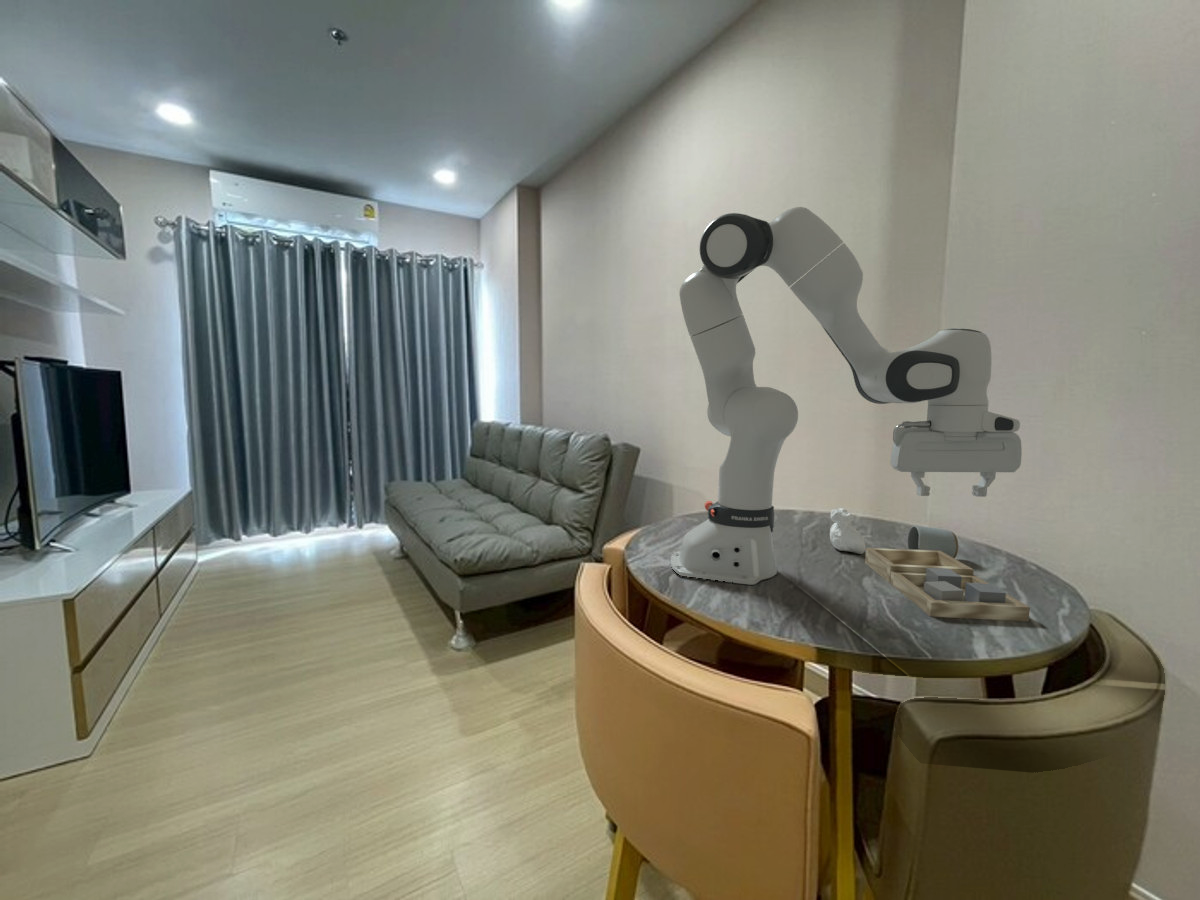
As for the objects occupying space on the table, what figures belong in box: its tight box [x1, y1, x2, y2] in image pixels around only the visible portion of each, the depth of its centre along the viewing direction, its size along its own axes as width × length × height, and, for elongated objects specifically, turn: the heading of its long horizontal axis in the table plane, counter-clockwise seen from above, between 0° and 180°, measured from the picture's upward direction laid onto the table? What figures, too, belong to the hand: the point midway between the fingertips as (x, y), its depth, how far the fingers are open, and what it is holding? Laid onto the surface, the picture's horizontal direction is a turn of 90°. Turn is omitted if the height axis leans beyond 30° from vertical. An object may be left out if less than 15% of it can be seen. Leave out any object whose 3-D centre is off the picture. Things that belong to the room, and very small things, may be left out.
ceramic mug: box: [906, 524, 959, 559], centre depth 113 cm, size 11×8×8 cm
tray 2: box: [889, 572, 1031, 622], centre depth 88 cm, size 15×14×3 cm
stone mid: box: [925, 568, 962, 589], centre depth 91 cm, size 4×4×4 cm
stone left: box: [924, 581, 964, 601], centre depth 85 cm, size 4×4×4 cm
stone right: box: [964, 583, 1007, 603], centre depth 84 cm, size 4×4×4 cm
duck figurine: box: [829, 507, 867, 555], centre depth 118 cm, size 12×8×11 cm
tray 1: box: [864, 547, 974, 584], centre depth 101 cm, size 15×11×4 cm
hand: (950, 495), depth 90 cm, fingers open, 8 cm apart
